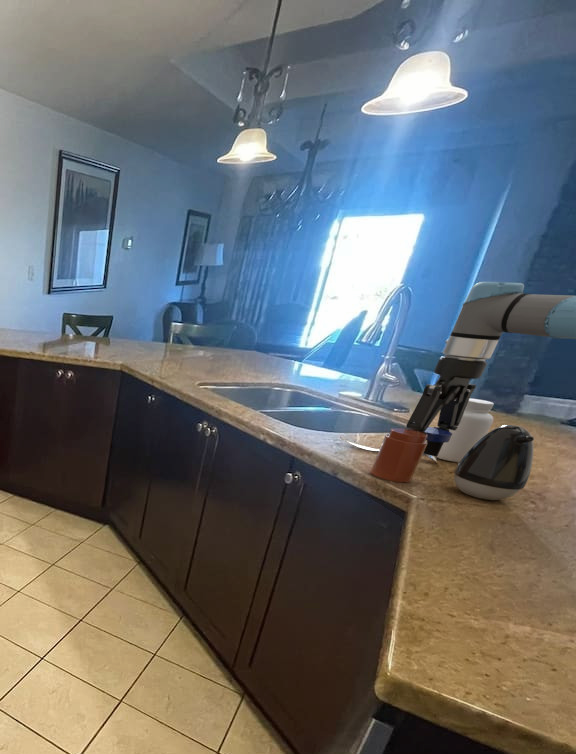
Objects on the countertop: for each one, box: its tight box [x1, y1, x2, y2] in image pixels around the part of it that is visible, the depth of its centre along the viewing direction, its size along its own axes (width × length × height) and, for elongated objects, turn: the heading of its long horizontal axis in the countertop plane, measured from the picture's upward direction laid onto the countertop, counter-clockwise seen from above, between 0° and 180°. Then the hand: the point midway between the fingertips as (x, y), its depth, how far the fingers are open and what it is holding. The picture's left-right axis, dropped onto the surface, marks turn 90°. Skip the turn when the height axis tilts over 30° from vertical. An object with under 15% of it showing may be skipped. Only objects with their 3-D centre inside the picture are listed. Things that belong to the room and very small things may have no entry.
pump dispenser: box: [453, 424, 535, 501], centre depth 99 cm, size 10×10×15 cm
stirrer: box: [339, 435, 438, 464], centre depth 126 cm, size 20×4×5 cm
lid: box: [408, 426, 452, 443], centre depth 114 cm, size 8×7×2 cm
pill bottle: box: [436, 397, 495, 464], centre depth 121 cm, size 8×8×15 cm
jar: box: [369, 427, 428, 483], centre depth 109 cm, size 7×7×10 cm
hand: (418, 455), depth 116 cm, fingers closed on lid, 7 cm apart
